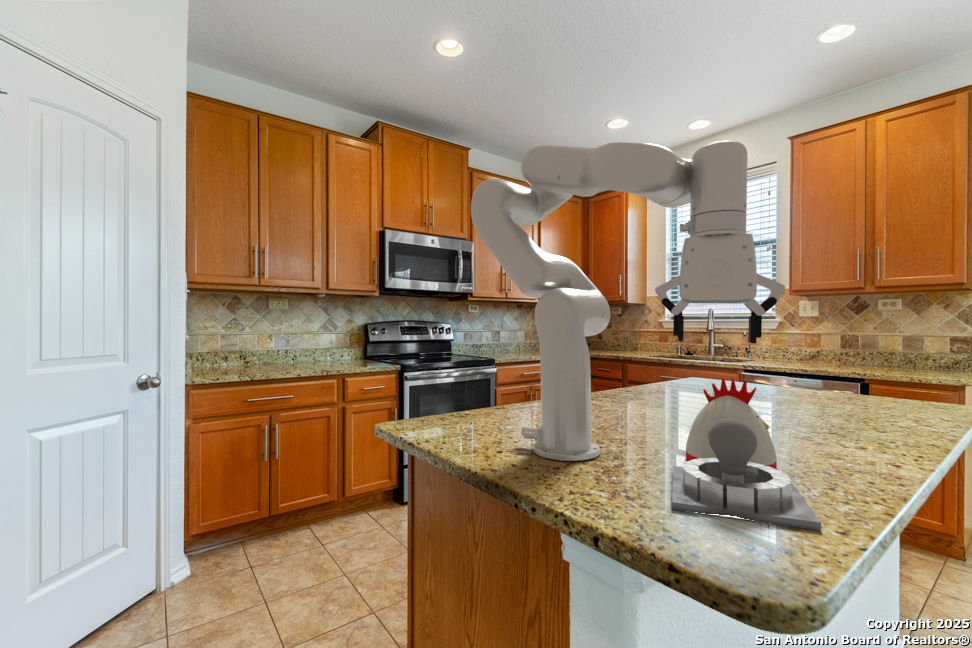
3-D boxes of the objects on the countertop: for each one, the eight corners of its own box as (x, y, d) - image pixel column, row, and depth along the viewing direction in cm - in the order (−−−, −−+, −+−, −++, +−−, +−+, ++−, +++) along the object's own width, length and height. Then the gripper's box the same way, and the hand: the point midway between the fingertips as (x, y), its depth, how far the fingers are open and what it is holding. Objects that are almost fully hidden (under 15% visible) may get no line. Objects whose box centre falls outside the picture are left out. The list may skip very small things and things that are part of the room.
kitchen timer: (776, 482, 67) (774, 384, 67) (679, 467, 75) (678, 379, 75) (776, 459, 79) (775, 376, 79) (693, 448, 86) (691, 372, 86)
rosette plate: (672, 509, 57) (671, 483, 57) (673, 472, 72) (672, 451, 72) (821, 531, 51) (820, 501, 51) (789, 485, 66) (788, 461, 66)
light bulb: (763, 489, 61) (762, 418, 62) (750, 501, 57) (749, 425, 57) (717, 479, 66) (716, 412, 66) (702, 489, 62) (701, 418, 62)
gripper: (654, 228, 66) (652, 341, 67) (791, 218, 59) (788, 345, 59) (657, 237, 73) (656, 339, 73) (781, 229, 66) (779, 342, 66)
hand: (715, 341), depth 66 cm, fingers open, 9 cm apart
